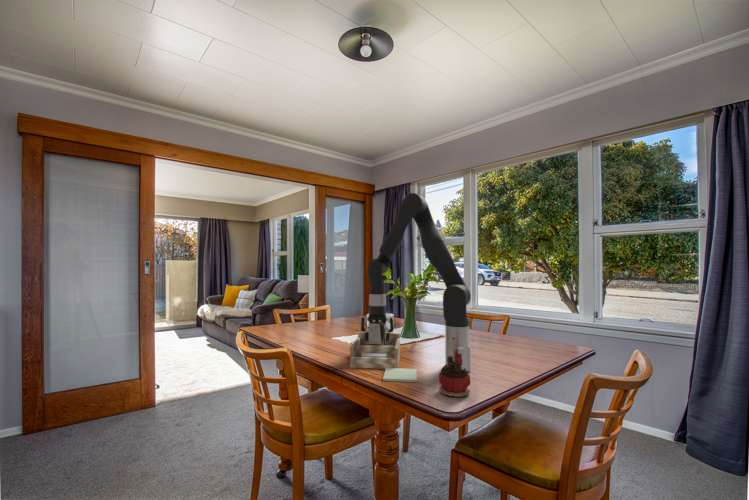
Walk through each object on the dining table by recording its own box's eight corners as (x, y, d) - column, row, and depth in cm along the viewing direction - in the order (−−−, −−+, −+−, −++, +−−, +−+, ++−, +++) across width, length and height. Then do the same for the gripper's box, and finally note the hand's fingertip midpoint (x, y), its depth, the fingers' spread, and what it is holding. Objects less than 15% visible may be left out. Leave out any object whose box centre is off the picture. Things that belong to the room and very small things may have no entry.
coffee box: (382, 361, 151) (382, 323, 152) (368, 361, 152) (368, 323, 153) (386, 356, 160) (386, 320, 161) (372, 355, 161) (372, 319, 162)
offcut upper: (387, 359, 148) (387, 353, 148) (385, 362, 143) (385, 356, 143) (363, 358, 149) (363, 352, 149) (361, 361, 145) (361, 355, 145)
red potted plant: (435, 387, 120) (435, 333, 121) (463, 386, 121) (462, 333, 121) (444, 399, 110) (443, 340, 110) (474, 398, 110) (473, 340, 111)
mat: (416, 370, 138) (416, 368, 138) (416, 382, 125) (416, 379, 126) (385, 369, 140) (385, 367, 140) (382, 380, 127) (382, 378, 127)
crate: (400, 355, 162) (400, 333, 162) (397, 369, 141) (397, 343, 141) (358, 354, 164) (358, 332, 164) (349, 367, 143) (349, 342, 143)
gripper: (394, 303, 160) (393, 339, 160) (362, 302, 162) (362, 338, 161) (393, 305, 153) (392, 343, 152) (360, 304, 154) (359, 342, 154)
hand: (377, 341), depth 157 cm, fingers open, 8 cm apart
